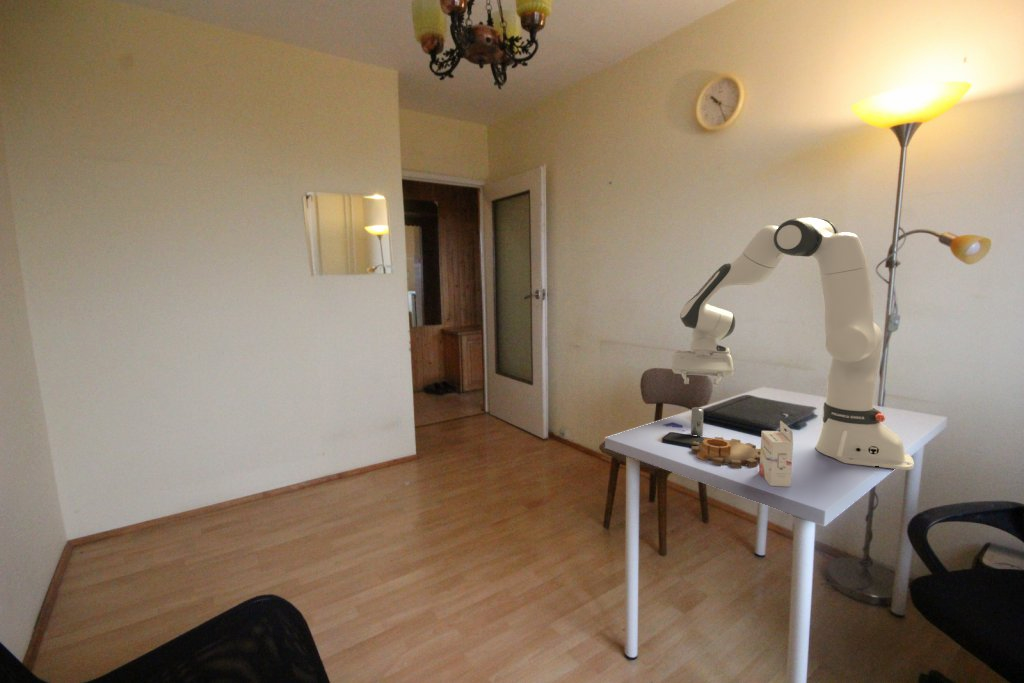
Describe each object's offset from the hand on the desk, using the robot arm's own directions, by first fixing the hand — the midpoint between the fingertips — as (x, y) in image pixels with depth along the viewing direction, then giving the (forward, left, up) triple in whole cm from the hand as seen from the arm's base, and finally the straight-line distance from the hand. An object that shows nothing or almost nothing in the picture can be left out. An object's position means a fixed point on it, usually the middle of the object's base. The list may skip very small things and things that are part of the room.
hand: (700, 384), depth 161 cm
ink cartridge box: (-26, +36, -15) cm, 47 cm away
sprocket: (-13, +24, -14) cm, 31 cm away
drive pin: (-2, +12, -14) cm, 19 cm away
